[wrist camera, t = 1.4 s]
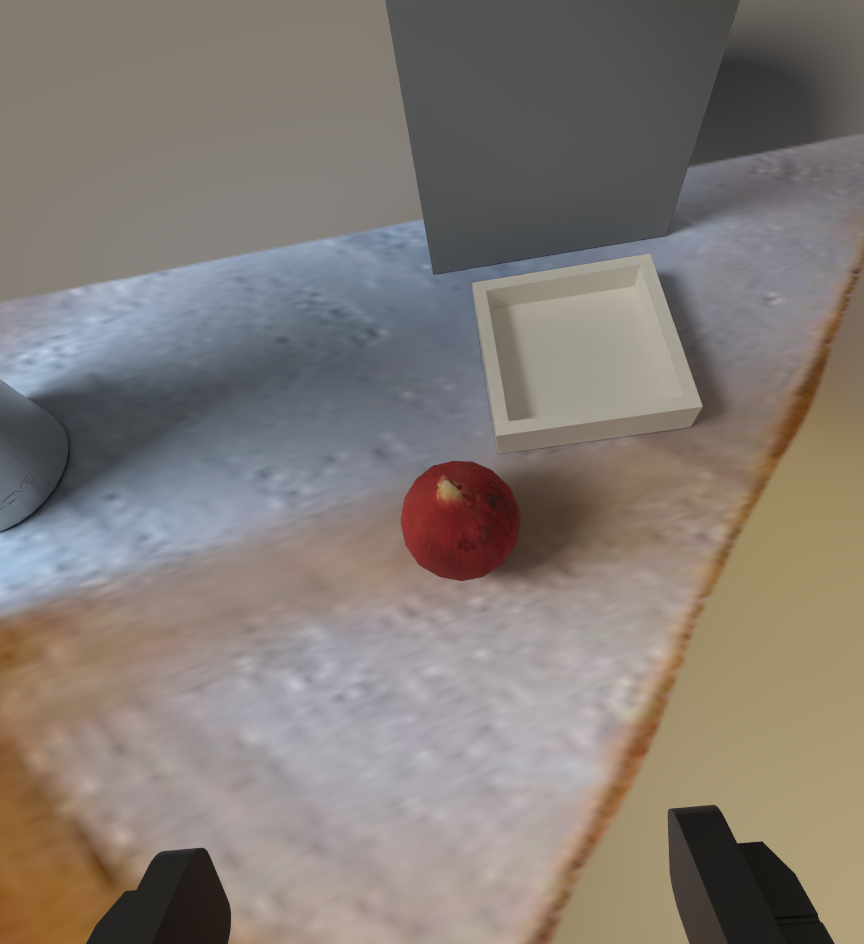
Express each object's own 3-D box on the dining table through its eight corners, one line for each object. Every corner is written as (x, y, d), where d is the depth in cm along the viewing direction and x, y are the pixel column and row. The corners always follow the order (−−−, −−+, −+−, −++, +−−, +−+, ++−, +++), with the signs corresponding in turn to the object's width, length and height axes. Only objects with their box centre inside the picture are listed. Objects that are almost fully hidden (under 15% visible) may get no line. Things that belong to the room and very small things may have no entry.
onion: (523, 499, 32) (527, 433, 25) (512, 601, 30) (512, 560, 22) (423, 489, 33) (398, 422, 26) (405, 586, 31) (372, 543, 24)
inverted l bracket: (715, 369, 34) (1260, -595, 9) (449, 408, 35) (301, -345, 10) (661, 222, 39) (918, -648, 14) (431, 261, 40) (303, -477, 16)
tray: (690, 427, 32) (702, 406, 30) (497, 454, 33) (496, 435, 31) (642, 280, 37) (650, 253, 35) (474, 307, 38) (471, 282, 36)
